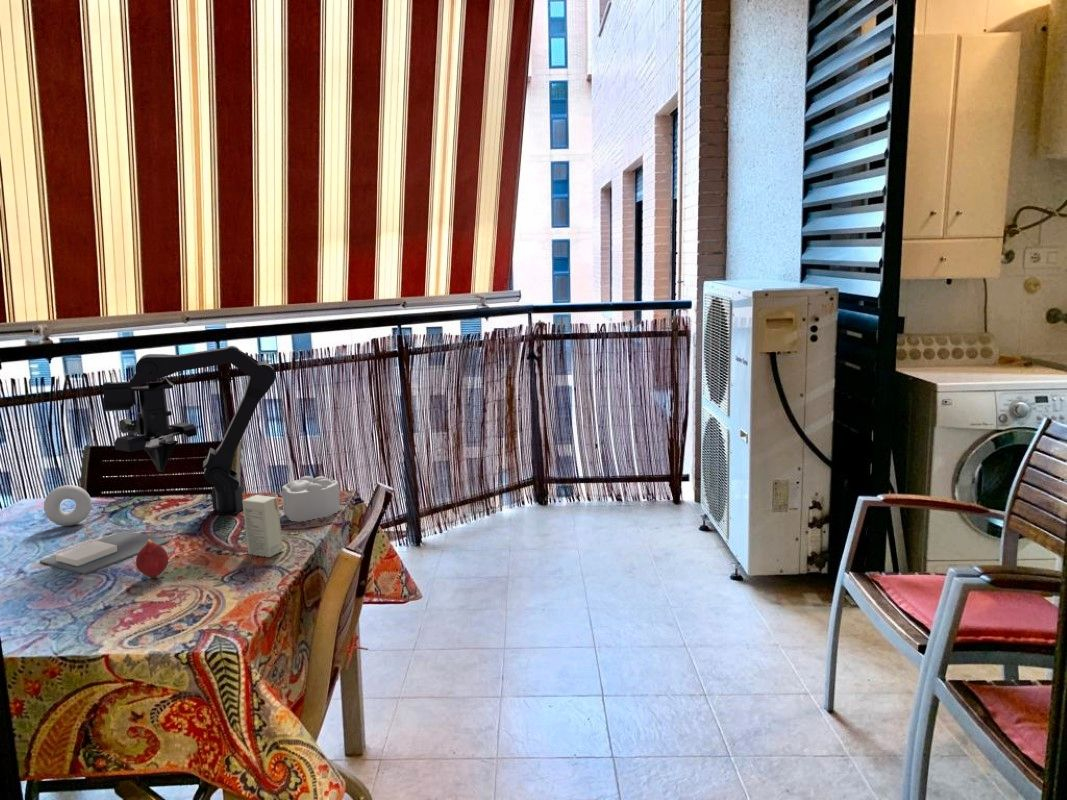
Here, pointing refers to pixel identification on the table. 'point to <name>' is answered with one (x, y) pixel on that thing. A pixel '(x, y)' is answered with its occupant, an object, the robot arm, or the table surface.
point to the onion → (152, 559)
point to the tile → (86, 553)
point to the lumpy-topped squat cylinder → (310, 498)
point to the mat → (126, 548)
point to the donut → (61, 494)
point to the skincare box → (262, 525)
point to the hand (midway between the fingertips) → (160, 471)
